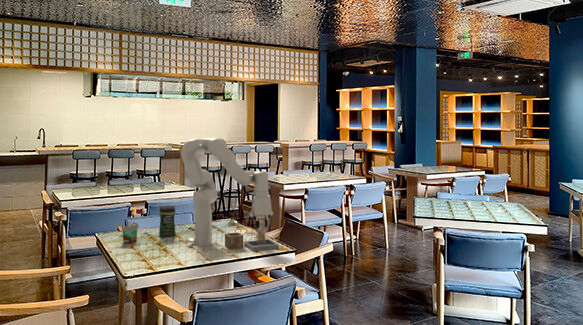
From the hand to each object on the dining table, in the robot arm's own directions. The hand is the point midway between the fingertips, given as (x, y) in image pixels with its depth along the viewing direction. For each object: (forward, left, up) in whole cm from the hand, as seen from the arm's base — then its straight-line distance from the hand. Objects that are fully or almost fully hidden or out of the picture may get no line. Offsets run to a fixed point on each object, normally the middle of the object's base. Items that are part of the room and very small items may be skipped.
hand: (261, 227), depth 257 cm
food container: (-63, +44, -12) cm, 78 cm away
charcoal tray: (0, 0, -12) cm, 12 cm away
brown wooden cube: (-14, +5, -12) cm, 19 cm away
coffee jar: (-42, +51, -12) cm, 67 cm away
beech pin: (0, 0, -9) cm, 9 cm away
